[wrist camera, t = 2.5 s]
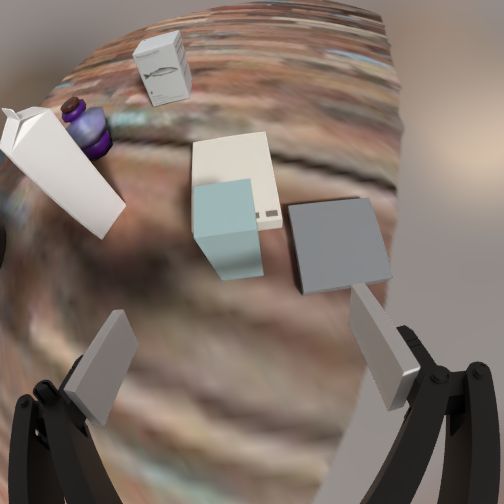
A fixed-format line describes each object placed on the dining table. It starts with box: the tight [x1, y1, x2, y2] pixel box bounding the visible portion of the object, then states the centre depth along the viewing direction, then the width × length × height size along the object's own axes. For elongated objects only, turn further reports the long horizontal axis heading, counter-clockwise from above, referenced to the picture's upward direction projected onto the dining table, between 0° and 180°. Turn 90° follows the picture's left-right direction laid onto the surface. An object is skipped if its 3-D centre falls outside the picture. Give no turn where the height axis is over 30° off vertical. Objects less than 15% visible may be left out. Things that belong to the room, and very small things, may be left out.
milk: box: [0, 107, 126, 240], centre depth 24 cm, size 6×6×22 cm
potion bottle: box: [61, 97, 113, 161], centre depth 34 cm, size 9×9×12 cm
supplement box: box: [133, 30, 192, 107], centre depth 38 cm, size 7×7×13 cm
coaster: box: [288, 198, 393, 296], centre depth 29 cm, size 10×10×2 cm
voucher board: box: [191, 132, 282, 235], centre depth 33 cm, size 14×10×2 cm
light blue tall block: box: [194, 178, 264, 281], centre depth 25 cm, size 5×4×11 cm
